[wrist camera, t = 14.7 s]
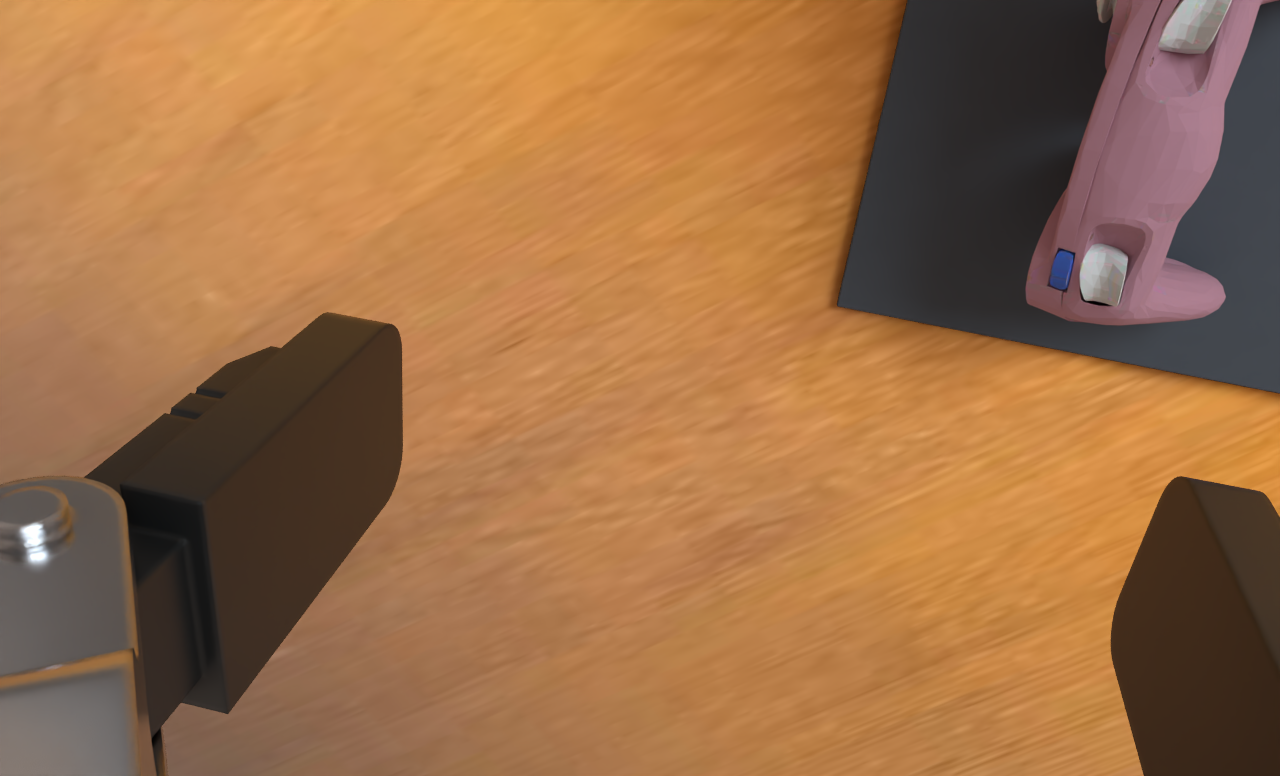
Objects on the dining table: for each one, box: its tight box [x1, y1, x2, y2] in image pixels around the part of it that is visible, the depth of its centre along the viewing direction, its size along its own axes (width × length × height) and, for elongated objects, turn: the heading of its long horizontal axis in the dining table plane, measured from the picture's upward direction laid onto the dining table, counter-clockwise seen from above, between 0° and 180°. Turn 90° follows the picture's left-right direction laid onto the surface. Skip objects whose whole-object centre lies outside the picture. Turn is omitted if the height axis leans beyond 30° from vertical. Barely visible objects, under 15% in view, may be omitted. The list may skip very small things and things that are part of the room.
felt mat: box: [837, 0, 1280, 393], centre depth 28 cm, size 14×14×1 cm
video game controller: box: [1026, 0, 1278, 325], centre depth 25 cm, size 10×5×7 cm, turn 173°
